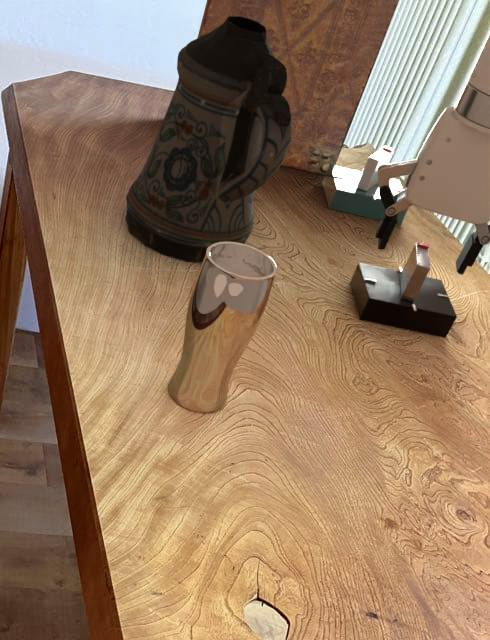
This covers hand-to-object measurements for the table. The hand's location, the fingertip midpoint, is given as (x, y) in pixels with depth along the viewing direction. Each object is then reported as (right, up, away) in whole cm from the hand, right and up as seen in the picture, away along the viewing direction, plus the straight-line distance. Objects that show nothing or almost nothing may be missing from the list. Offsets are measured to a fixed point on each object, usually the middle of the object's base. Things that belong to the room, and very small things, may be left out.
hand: (419, 257), depth 106 cm
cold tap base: (+1, +17, +27) cm, 32 cm away
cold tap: (+2, +19, +25) cm, 31 cm away
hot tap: (-1, -3, +3) cm, 4 cm away
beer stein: (-26, +5, +9) cm, 28 cm away
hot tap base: (-1, -5, +5) cm, 7 cm away
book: (-13, +28, +35) cm, 47 cm away
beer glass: (-29, -19, -16) cm, 38 cm away
